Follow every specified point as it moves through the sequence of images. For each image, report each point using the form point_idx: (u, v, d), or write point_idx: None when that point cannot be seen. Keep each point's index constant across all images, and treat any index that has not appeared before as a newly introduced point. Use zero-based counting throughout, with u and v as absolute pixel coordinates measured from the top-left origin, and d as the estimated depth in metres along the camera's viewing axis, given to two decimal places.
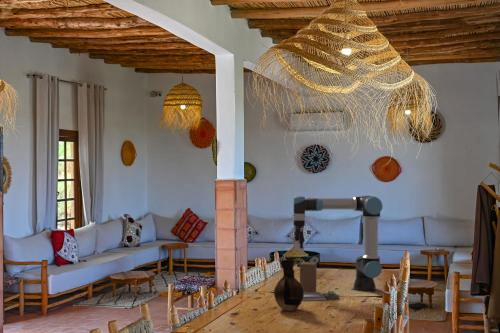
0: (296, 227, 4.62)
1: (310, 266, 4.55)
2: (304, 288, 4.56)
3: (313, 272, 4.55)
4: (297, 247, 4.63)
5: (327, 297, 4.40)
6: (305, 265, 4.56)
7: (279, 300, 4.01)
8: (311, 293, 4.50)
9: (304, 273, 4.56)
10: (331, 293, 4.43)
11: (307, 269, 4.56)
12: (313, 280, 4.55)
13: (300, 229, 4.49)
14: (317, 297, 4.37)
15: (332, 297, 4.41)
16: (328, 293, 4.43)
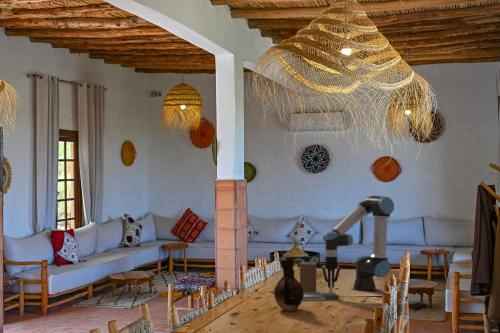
0: None
1: (310, 266, 4.55)
2: (304, 288, 4.56)
3: (313, 272, 4.55)
4: None
5: (327, 297, 4.40)
6: (305, 265, 4.56)
7: (279, 300, 4.01)
8: (311, 293, 4.50)
9: (304, 273, 4.56)
10: (331, 294, 4.43)
11: (307, 269, 4.56)
12: (313, 280, 4.55)
13: None
14: (317, 297, 4.37)
15: (332, 297, 4.41)
16: (328, 294, 4.44)
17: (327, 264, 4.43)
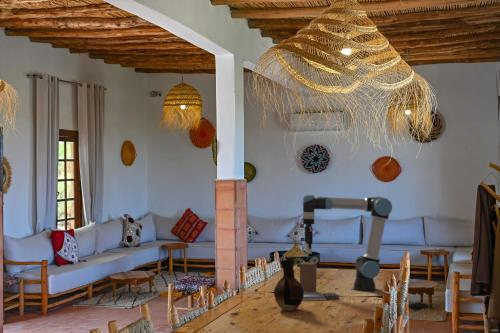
0: None
1: (310, 266, 4.55)
2: (304, 288, 4.56)
3: (313, 272, 4.55)
4: None
5: (327, 297, 4.40)
6: (305, 265, 4.56)
7: (279, 300, 4.01)
8: (311, 293, 4.50)
9: (304, 273, 4.56)
10: None
11: (307, 269, 4.56)
12: (313, 280, 4.55)
13: (310, 230, 4.54)
14: (317, 297, 4.37)
15: (332, 297, 4.41)
16: None
17: None
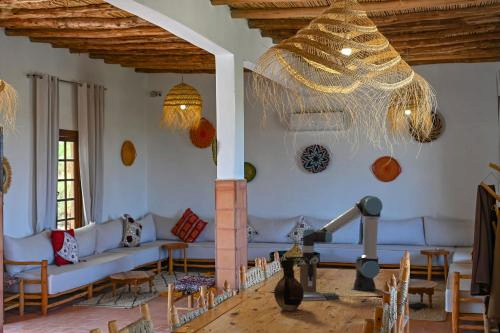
0: (305, 259, 4.66)
1: None
2: (304, 288, 4.56)
3: (313, 272, 4.55)
4: None
5: (327, 297, 4.40)
6: (305, 265, 4.56)
7: (279, 300, 4.01)
8: (311, 293, 4.50)
9: (304, 273, 4.56)
10: None
11: (307, 269, 4.56)
12: (313, 280, 4.55)
13: (309, 262, 4.54)
14: (317, 297, 4.37)
15: (332, 297, 4.41)
16: None
17: None
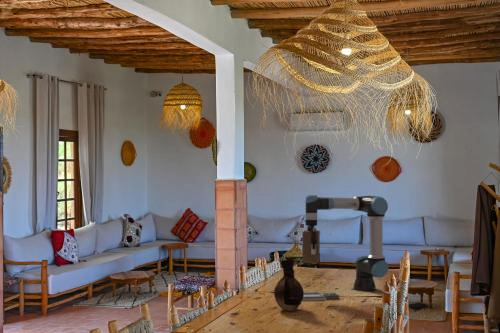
0: None
1: None
2: (307, 257, 4.39)
3: (316, 240, 4.38)
4: None
5: (327, 297, 4.40)
6: (308, 233, 4.39)
7: (279, 300, 4.01)
8: (311, 293, 4.50)
9: (307, 241, 4.39)
10: None
11: (310, 237, 4.39)
12: (316, 248, 4.38)
13: (313, 229, 4.37)
14: (317, 297, 4.37)
15: (332, 297, 4.41)
16: None
17: None
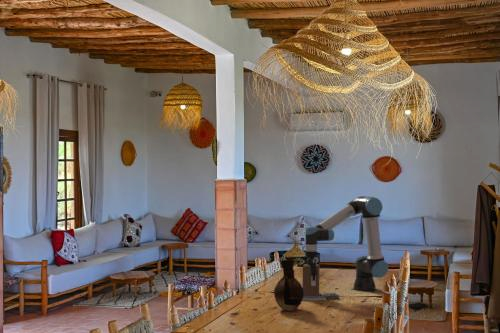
0: None
1: None
2: (307, 291, 4.39)
3: None
4: None
5: (327, 297, 4.40)
6: (308, 267, 4.39)
7: (279, 300, 4.01)
8: None
9: (307, 276, 4.39)
10: None
11: (310, 271, 4.39)
12: (316, 282, 4.38)
13: (312, 261, 4.37)
14: (317, 297, 4.37)
15: (332, 297, 4.41)
16: None
17: None
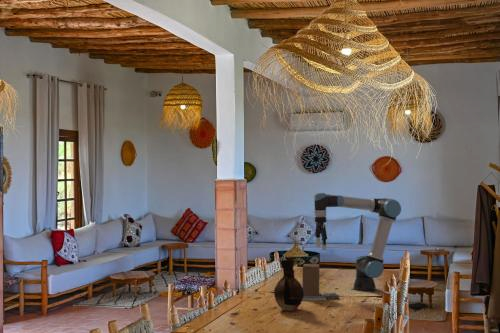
0: (317, 224, 4.61)
1: (313, 268, 4.38)
2: (307, 291, 4.39)
3: (316, 274, 4.38)
4: (318, 244, 4.62)
5: (327, 297, 4.40)
6: (308, 267, 4.39)
7: (279, 300, 4.01)
8: None
9: (307, 276, 4.39)
10: None
11: (310, 271, 4.39)
12: (316, 282, 4.38)
13: (322, 226, 4.49)
14: (317, 297, 4.37)
15: (332, 297, 4.41)
16: None
17: None
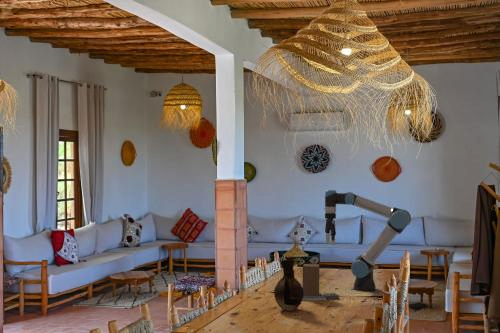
0: (327, 220, 4.76)
1: (313, 268, 4.38)
2: (307, 291, 4.39)
3: (316, 274, 4.38)
4: (328, 239, 4.77)
5: (327, 297, 4.40)
6: (308, 267, 4.39)
7: (279, 300, 4.01)
8: None
9: (307, 276, 4.39)
10: None
11: (310, 271, 4.39)
12: (316, 282, 4.38)
13: (332, 221, 4.64)
14: (317, 297, 4.37)
15: (332, 297, 4.41)
16: None
17: None
